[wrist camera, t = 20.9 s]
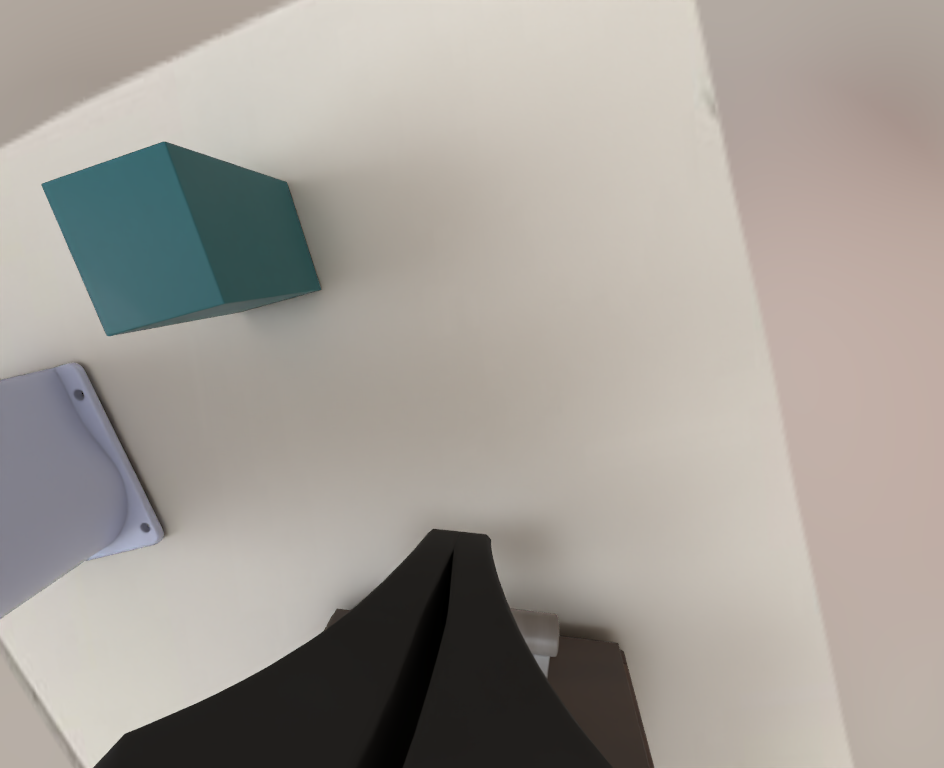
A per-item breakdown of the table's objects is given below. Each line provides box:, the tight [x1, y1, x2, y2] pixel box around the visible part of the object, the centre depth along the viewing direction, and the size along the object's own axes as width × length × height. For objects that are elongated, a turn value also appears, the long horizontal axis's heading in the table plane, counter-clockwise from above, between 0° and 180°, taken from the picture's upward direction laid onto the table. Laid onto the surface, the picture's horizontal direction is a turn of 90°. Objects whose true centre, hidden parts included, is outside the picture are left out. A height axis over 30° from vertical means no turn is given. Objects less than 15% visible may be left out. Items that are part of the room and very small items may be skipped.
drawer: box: [326, 609, 650, 768], centre depth 21 cm, size 18×13×6 cm
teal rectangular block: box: [42, 142, 321, 336], centre depth 17 cm, size 4×4×7 cm
